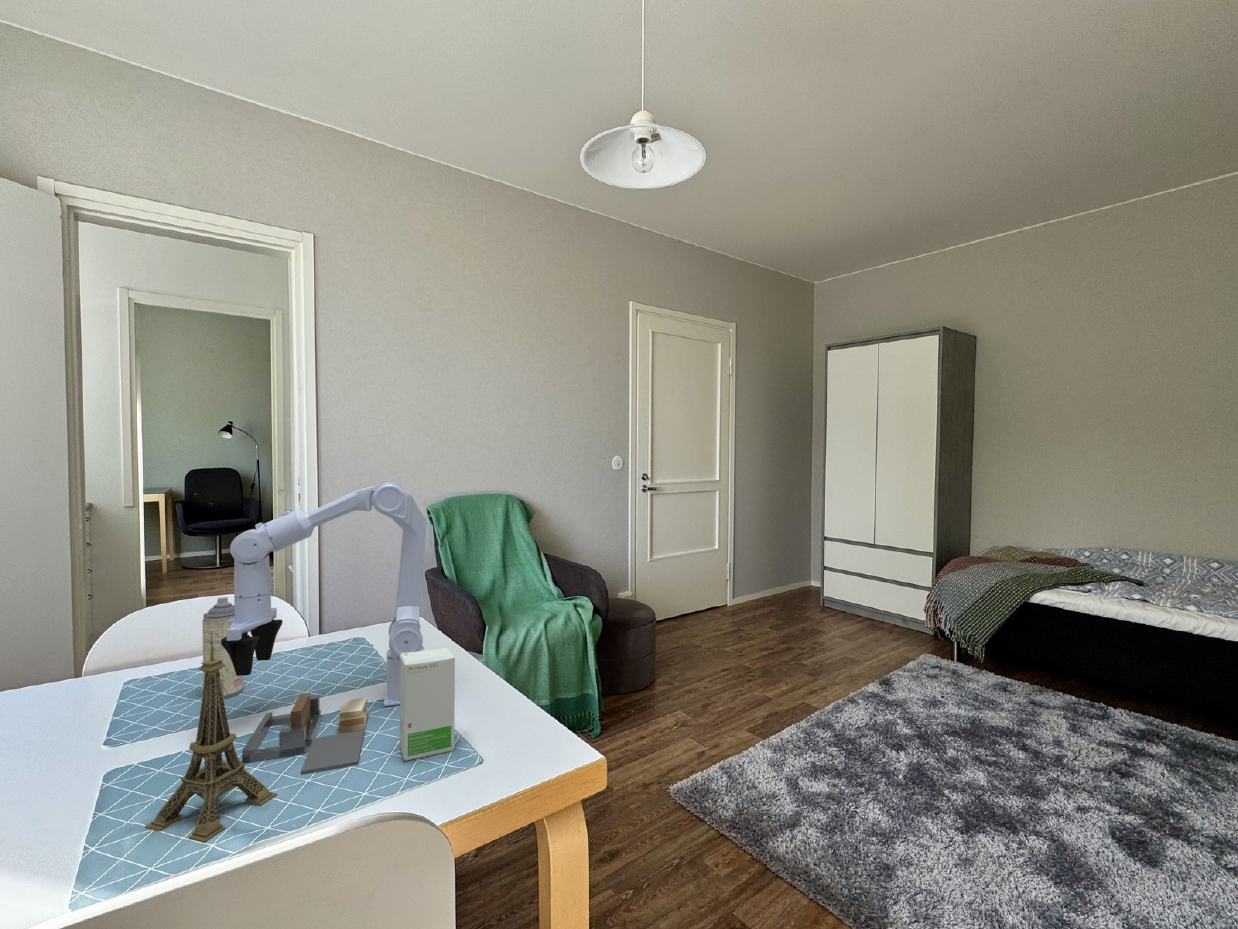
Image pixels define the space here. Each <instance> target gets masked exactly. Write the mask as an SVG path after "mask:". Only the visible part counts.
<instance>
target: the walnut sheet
mask: <svg viewBox="0 0 1238 929" xmlns="http://www.w3.org/2000/svg"><path fill="white" fill-rule="evenodd" d="M310 696H311V693H310V692H305V693H303V692H302V693H300V694H299V695H298V697H297V699H296V701H295V702H294V705H293V707H292V708H291V710H290V713H289V714H290V715H291V727H298V726H305V725H306V734H307V732H308V729H309V727H310V725H311V722H312V721H311V720H310Z"/></svg>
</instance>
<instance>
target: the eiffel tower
mask: <svg viewBox="0 0 1238 929" xmlns="http://www.w3.org/2000/svg"><path fill="white" fill-rule="evenodd" d="M221 661H223V659H215V658H214V653H213V641H212V631H211V653H210V660H207V661H204V662H203V661H202V662H200V664H201V666H200V667H199V668H198V670H199V671H202V672H203V671H204V672H205V679H204V687H203V688H202V695H201V696H202V697H201V706H200V713H199V717H198V719H199V720H198V725H197V733H196V739H195V741H192V742H191V743H190V744H189V748H188V749H189V750H191V751H192V756H191V759H190V763H189V766H188V768H187V770H186V772H185V774H184V776H180V780H181V782H182V783H181V784H180V785H179V786H178V787H177V789H176V790H175V791H174V792H173V794H172V795H171V796H170V797H169V798H168V800H167V801H166V803H164V805H163V806H162V807H161V809H160V810H159V812H158V813H157V814H156V816H155V818H154V820H153V821H151V822H150V823H148V824H146V825H145V826H144V828H145V829H149V830H153V831H156V832H162V831H164V830H165V829H167V828H169V827H171V826H173V824H175V823H176V824H177V822H179V821H180V820H182V819H183V814H181V811H182V810H183V809H184V807H185V806H186V804H187V803H188V801H189V800H190V798H192V797H193V796H194V795H196V796H198V797H199V798H201V799H202V800H203V804H202V807H201V810H200V812H199V814H198V815H199V816H198V818H197V821H196V824H195V827H194V830H193V831H192V833H191V835H189V837H188V839H189V840H191V841H196V842H200V843H207V842H209V841H210V840H211V839H213V838H214V837H216V836H218V835H219V834H221V833H222V832H223V831H225V830H226V829H227V828H226V826H224V824H223V823H221V819H220V815H219V814H220V813H219V809H218V803H217V797H218V798H220V797H221V796H223V795H224V794H226V793H228V792H229V791H231V790H234V789H235V788H236V787H237V788H238V789H240V791H241V792H243V794H244V795H246V796H247V797H246V798H245V799H244V800H245V804H249V805H252V806H256V807H257V806H258V807H262V806H263V805H264V804H266V803H268V802H270V801H271V800H273V799H274V798H275V797H277V796H278V793H277V792H273V791H269V789H268V787H267V786H266V785H264V784H263V783H262V782H261V781H259V780H258V779H257V778H256V777H255V776H254V775H252V774H251V773H250V772H248V771H247V770H246V769H245V766H246V764H247V763H242V760H240V758H239V756H238V754H237V751H236V748H235V745H234V741H235V740H237V739H238V738H237V734H236V733H234V732H233V733H231V732H230V726H229V721H228V716H227V712H226V705H225V699H224V698H223V691H222V685H221V678H220V672H219V669H221V668H222V667H224V666H226V665H224V664H223V663H222V662H221ZM223 753H224V756H225V759H226V760H224V759H223ZM203 760H204V762H202V761H203ZM202 763H204V766H202V767H201V765H202Z"/></svg>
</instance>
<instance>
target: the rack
mask: <svg viewBox="0 0 1238 929" xmlns="http://www.w3.org/2000/svg"><path fill="white" fill-rule="evenodd" d="M320 697H321V696H320V694H316V695H310V720H311V725H310V727H309V729H308V732H307V734H306V725H305V726H298V727H291V715H290V713H286V714H285V713H284V714H279V715H273V711H269V712H265V714H264V716H263V717H262V719H261V720H260V722H259V724H258V725H257V727H256V728H255V730H254V732H253V733H252V734H251V736H250V738H249V740H248V741H247V743H246V744H245V746H244V748H243V749H242V751H241V763H246V764H250V763H256V762H262V761H269V760H273V759H274V760H276V759H280V758H286V757H292V756H301V755H307V753H308V750H309V749H308V748H310V747H311V744H312V742H313V739H314V738H315V737H316V735H317V734H316V733H317V731H318V728H319V726H320V724H321V719H322V718H321V716H322V709H321V706H320V705H321V703H320V701H321V700H320ZM284 725H285V726H286V725H288V726H287V727H286V728H280V731H279V734H278V740H279V742H278V746H273V747H272V746H270V747H266V748H259V747H260V745H261V744H262V741H263V740H264V738H265V736H266V734H267V733H268V731H269V730H270V729H271V727H276V726H284ZM258 748H259V749H258Z"/></svg>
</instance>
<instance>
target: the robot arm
mask: <svg viewBox="0 0 1238 929" xmlns="http://www.w3.org/2000/svg"><path fill="white" fill-rule="evenodd" d="M372 506H373V507H374V509H375V510H376V511H377V512H379V513H380V514H382V515H383V516H386V517H388V518H391V519H392V521H394V523H396V524H397V525H398V526H399V527H400V528H401V529H402V536H401V548H400V559H399V568H398V569H399V570H398V579H397V580H398V582H397V592H396V604H395V611H394V618H393V620H392V621H391V622H390V624H389V627H388V635H389V637H388V638H389V640H388V648H389V649H388V650H387V651H386V690H385V694H384V700H383V706H384V707H389V706H390V707H391V706H397V705H400V654H402V653H410V652H418V651H422V650H425V647H424V645H423V642H424V640H423V639H424V637H423V634H422V631H421V625H420V605H421V594H422V582H423V570H424V561H425V560H424V558H425V546H426V538H427V537H426V534H427V526H428V525H427V524H428V521H427V518H426V516H425V515H424V513H423V511H421V509H420V507H419V506H418V504H417V502H416V501H415V499H414V498H413V496H412V495H411V493H410V492H409V491H408V490H407V489H405V488H404V487H403V485H401V484H399V483H398V482H395V481H393V480H392V481H384V482H381V483H379V484H378V485H377V486H376V485H370V486H368V487H364V488H359V489H357V490H354V491H353V492H350V493H348V494H346V495H343V496H341V497H338V498H336V499H334V500H333V501H330V502H328V503H326V504H324V505H321V506H320V507H317V508H315V509H313V510H311V511H309V512H305V511H302V510H299V509H296V510H292V511H291V510H290V509H287V510H286V511H285V510H284V511H283V512H282V513H281V516H279V517H277V518H275V519H272V520H270V521H267V522H265V523H263V522H259V523H257V524H255V525H254V526H255V529H254V528H253V529H248V530H246V531H245V530H244V531H243V532H242V533H240V534H238V535H237V536H236V537H234V538H233V540H232V541H231V543H230V547H229V551H230V555H231V556H232V558H233V559H234V562H233V563H234V564H233V565H234V572H233V594H234V595H233V598H234V599H233V600H234V602H233V605H234V608H235V618H232V619H230V620H228V624H232V625H231V627H230V628H229V629H227V636H226V637H224V638H223V639H221V645H222V646H223V647H224V648H225V650H226V651H227V653H228V654H229V656H230V658H231V661H232V663H233V666H234V670H235V673H236V675H237V676H243V677H245V676H250V675H251V673H252V669H253V665H254V664H253V663H254V655H255V657H256V661H257V662H258V661H259V662H262V661H270V660H271V658H272V654H273V650H274V646H275V642H276V638H277V635H278V633H279V631H280V629H281V626H282V625H283V619H277V617H278V613H277V609H278V608H277V607H272V587H271V585H272V582H271V577H272V576H271V567H270V555H269V554H270V553H271V552H279V551H281V550H283V549H286V548H287V547H290V546H292V545H295V544H296V543H300V542H302V541H304V540H306V539H308V538H310V537H311V536H312V535H313V532H314V529H315V527H318V526H320V525H322V524H325V523H327V522H330V521H333V520H335V519H338V518H340V517H342V516H345V515H347V514H350V513H353V512H355V511H360V512H371V511H372V508H373V507H372ZM249 632H250V634H251V636H250V634H248V633H249Z"/></svg>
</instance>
